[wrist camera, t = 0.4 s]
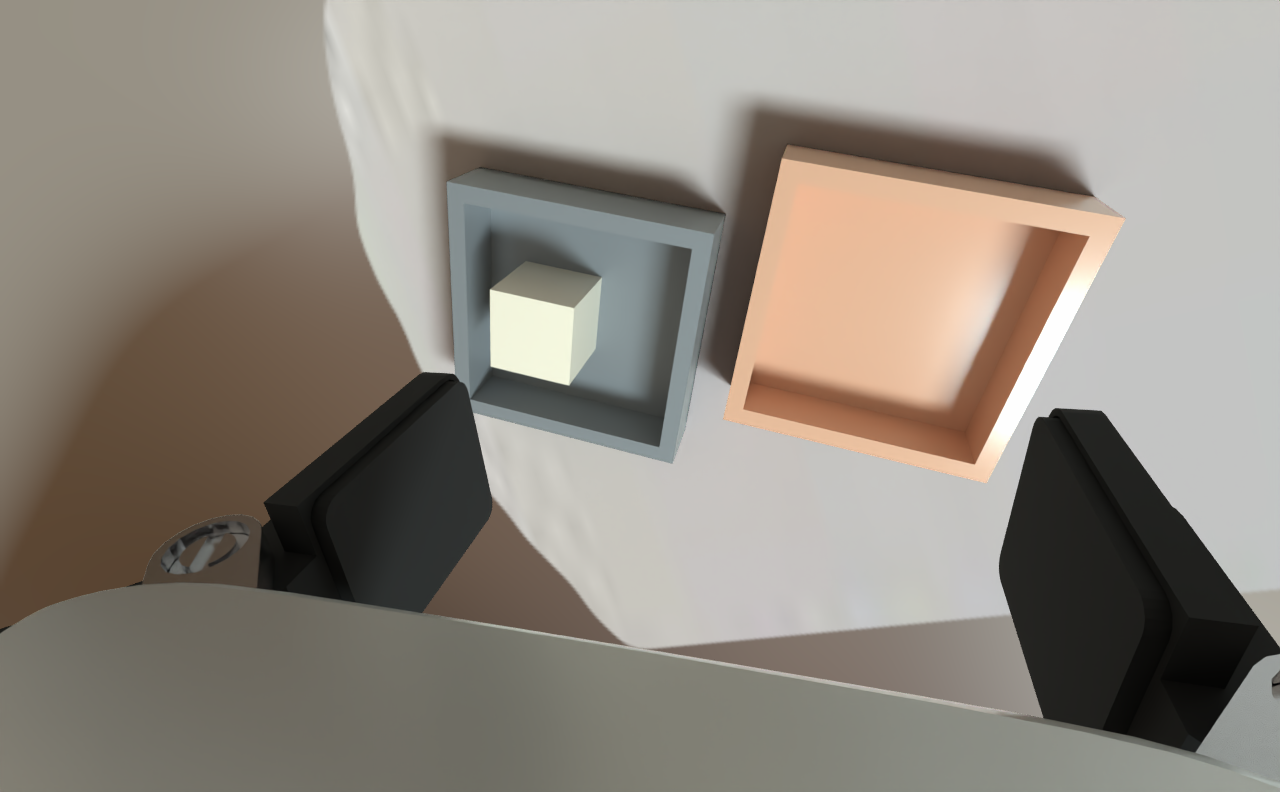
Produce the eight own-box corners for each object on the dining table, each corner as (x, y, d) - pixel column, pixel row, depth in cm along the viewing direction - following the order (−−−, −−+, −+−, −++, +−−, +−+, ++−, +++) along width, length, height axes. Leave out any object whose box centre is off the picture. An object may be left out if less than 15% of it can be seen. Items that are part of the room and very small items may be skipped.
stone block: (525, 261, 48) (489, 289, 43) (602, 277, 47) (574, 308, 42) (524, 332, 51) (490, 366, 46) (595, 348, 50) (569, 385, 45)
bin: (480, 167, 46) (446, 181, 42) (725, 214, 43) (714, 234, 39) (483, 380, 56) (456, 408, 52) (684, 429, 53) (672, 463, 49)
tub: (787, 144, 40) (782, 158, 36) (1094, 196, 37) (1125, 218, 33) (732, 386, 50) (723, 419, 46) (973, 443, 47) (986, 483, 43)
